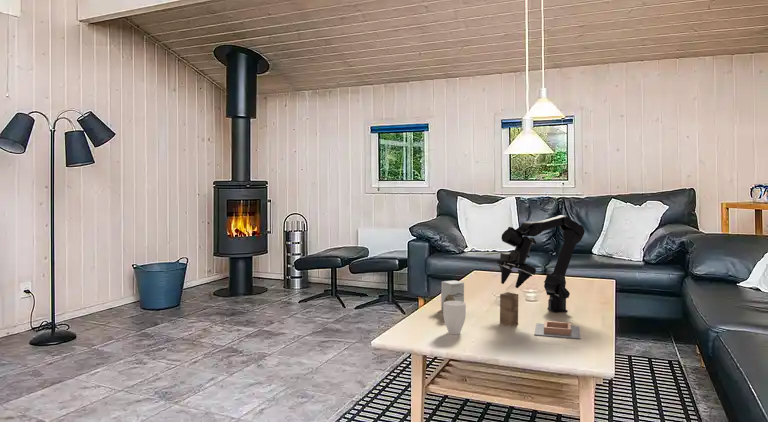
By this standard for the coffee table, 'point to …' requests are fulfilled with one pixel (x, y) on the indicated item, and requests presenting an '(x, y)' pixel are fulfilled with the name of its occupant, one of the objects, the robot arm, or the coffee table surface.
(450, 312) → the mug
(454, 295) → the supplement box
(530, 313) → the coffee table surface
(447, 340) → the coffee table surface
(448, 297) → the decorative egg
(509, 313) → the block
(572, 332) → the holder
